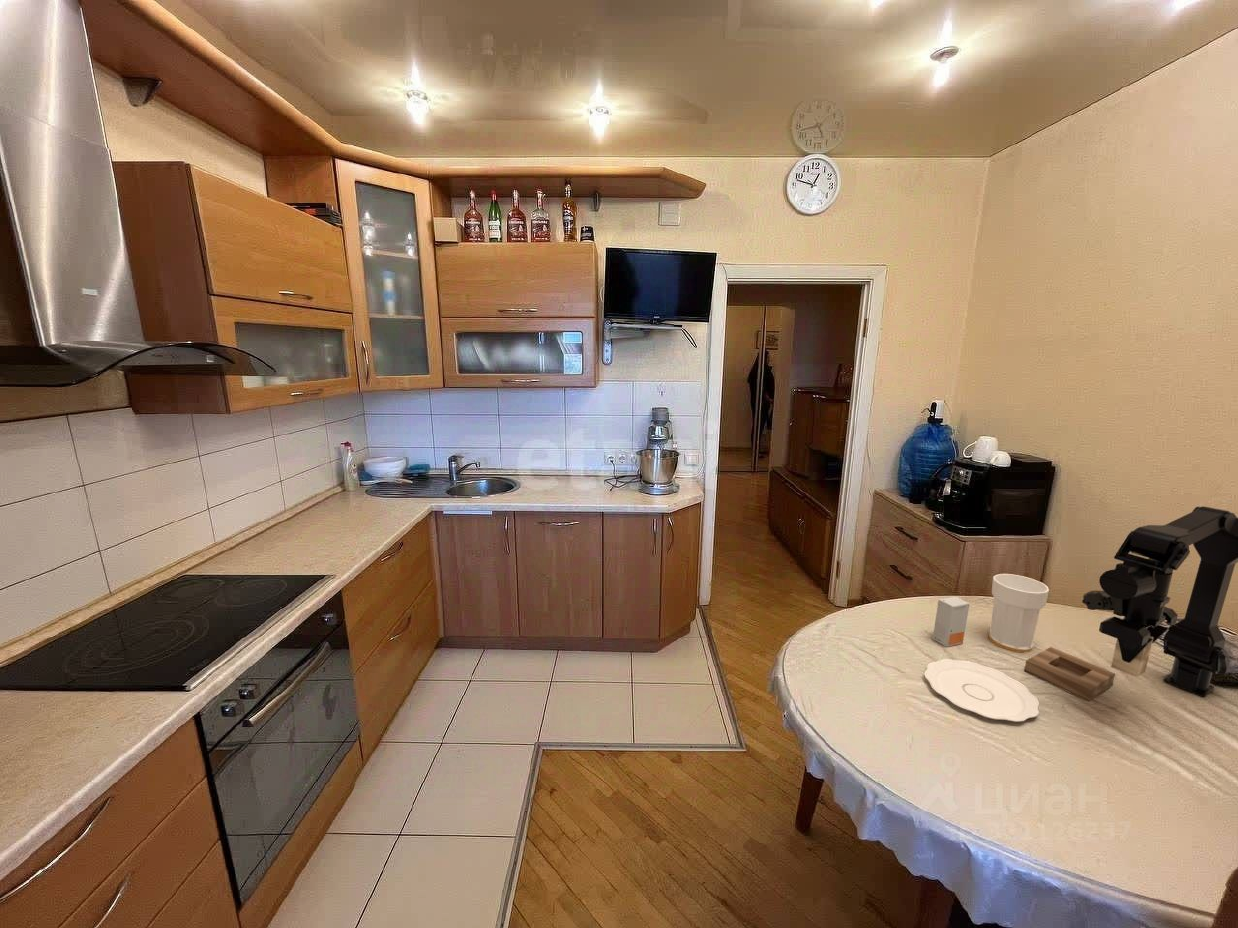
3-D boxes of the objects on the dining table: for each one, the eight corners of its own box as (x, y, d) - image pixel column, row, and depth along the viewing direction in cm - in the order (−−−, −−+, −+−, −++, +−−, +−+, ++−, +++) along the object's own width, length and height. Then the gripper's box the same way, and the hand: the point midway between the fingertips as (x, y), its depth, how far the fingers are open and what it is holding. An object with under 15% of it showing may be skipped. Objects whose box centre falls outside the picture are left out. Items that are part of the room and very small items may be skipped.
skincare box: (946, 647, 126) (952, 606, 124) (932, 639, 130) (937, 598, 128) (964, 644, 128) (970, 603, 125) (949, 635, 132) (955, 595, 129)
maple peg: (1119, 661, 103) (1126, 627, 101) (1145, 671, 99) (1153, 637, 98) (1111, 666, 101) (1118, 632, 99) (1137, 677, 98) (1145, 642, 96)
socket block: (1048, 657, 121) (1050, 646, 121) (1112, 684, 111) (1115, 673, 110) (1024, 671, 116) (1026, 660, 116) (1088, 701, 106) (1091, 689, 105)
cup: (1049, 655, 122) (1061, 592, 119) (1005, 655, 123) (1015, 593, 119) (1014, 630, 133) (1024, 573, 130) (973, 631, 134) (982, 573, 130)
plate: (1062, 733, 97) (1063, 726, 97) (948, 719, 101) (949, 712, 101) (1003, 669, 117) (1004, 663, 117) (910, 660, 121) (911, 654, 121)
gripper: (1112, 566, 108) (1099, 628, 111) (1073, 584, 99) (1060, 650, 103) (1185, 585, 98) (1169, 653, 101) (1149, 607, 90) (1132, 680, 93)
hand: (1130, 658), depth 100 cm, fingers closed on maple peg, 4 cm apart
